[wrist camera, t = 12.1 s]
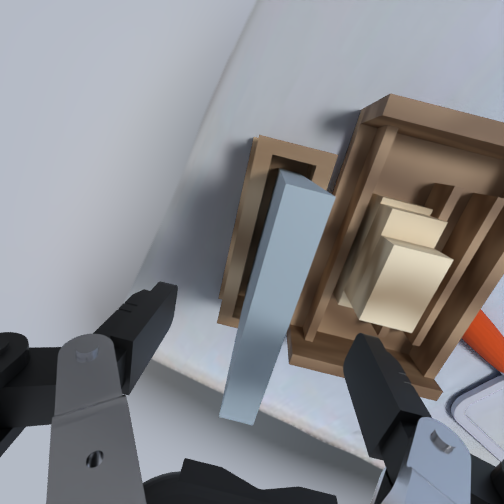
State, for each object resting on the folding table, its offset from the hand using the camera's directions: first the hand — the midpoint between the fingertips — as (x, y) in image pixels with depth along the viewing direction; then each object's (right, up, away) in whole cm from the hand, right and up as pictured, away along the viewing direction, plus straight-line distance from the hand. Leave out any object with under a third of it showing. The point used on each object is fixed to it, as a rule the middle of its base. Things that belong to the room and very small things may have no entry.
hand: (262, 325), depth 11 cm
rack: (+13, +3, +14) cm, 19 cm away
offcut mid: (+11, +3, +10) cm, 15 cm away
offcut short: (+10, +1, +9) cm, 13 cm away
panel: (+1, +5, +13) cm, 14 cm away
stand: (+1, +5, +14) cm, 15 cm away
